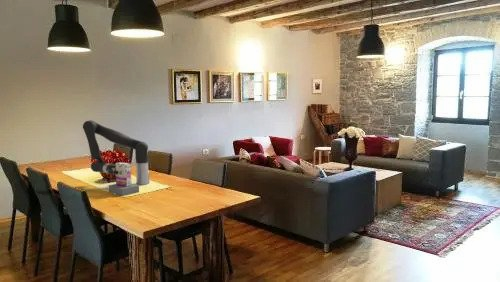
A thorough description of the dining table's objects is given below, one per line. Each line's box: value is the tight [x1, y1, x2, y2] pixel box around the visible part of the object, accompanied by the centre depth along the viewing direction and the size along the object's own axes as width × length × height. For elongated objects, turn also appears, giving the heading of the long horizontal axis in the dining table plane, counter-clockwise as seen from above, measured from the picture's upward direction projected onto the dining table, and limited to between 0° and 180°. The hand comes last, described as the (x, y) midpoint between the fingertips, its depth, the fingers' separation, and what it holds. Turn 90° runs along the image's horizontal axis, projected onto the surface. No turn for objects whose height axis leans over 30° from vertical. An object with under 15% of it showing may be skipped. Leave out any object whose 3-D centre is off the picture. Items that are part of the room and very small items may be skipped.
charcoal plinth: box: [108, 183, 140, 197], centre depth 284 cm, size 14×17×5 cm
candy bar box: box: [115, 162, 132, 187], centre depth 283 cm, size 11×5×16 cm, turn 60°
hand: (122, 171), depth 283 cm, fingers open, 8 cm apart
